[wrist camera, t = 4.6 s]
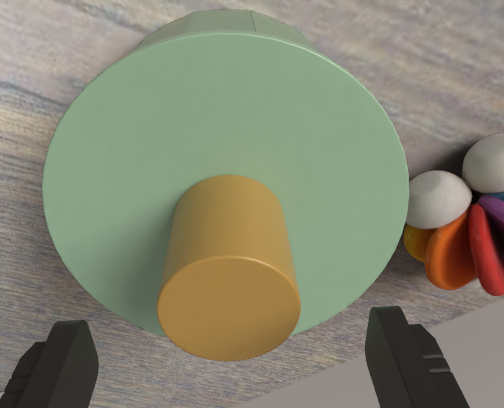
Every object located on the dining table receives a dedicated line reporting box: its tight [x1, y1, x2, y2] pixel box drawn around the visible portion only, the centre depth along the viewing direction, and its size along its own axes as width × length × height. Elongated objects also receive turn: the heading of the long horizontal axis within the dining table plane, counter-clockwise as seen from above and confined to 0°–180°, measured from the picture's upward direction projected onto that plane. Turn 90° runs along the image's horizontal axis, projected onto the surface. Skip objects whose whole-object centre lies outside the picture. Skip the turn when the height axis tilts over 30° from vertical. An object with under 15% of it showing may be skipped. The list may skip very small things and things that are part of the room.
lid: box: [42, 29, 409, 361], centre depth 16 cm, size 14×14×6 cm
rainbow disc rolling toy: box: [404, 133, 504, 296], centre depth 25 cm, size 8×10×7 cm
